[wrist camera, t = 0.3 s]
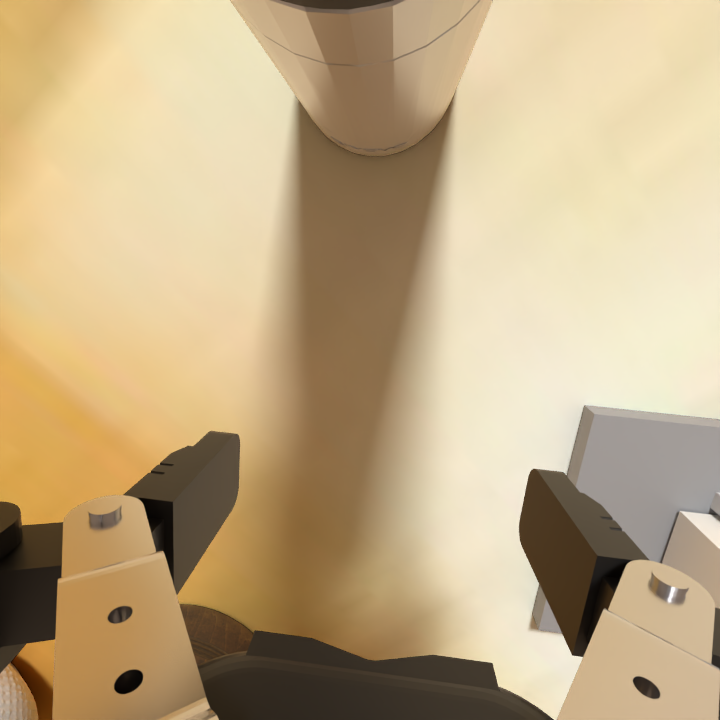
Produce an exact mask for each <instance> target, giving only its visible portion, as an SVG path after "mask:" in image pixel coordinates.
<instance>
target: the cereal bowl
mask: <svg viewBox="0 0 720 720" xmlns="http://www.w3.org/2000/svg"><path fill="white" fill-rule="evenodd" d="M0 720H38V714H37V707H36V702H35V701H34V696H33V695H32V694H31V691H30V689H29V688H28V686H27V684H26V683H25V681H24V680H23V678H22V677H21V675H20V674H19V672H18V670H17V669H16V668H15V667H14V665H13V664H12V663H11V662H10V663H9V664H8V665H7V667H6V668H5V669H4V670H3V671H2V672H1V673H0Z"/></svg>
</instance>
